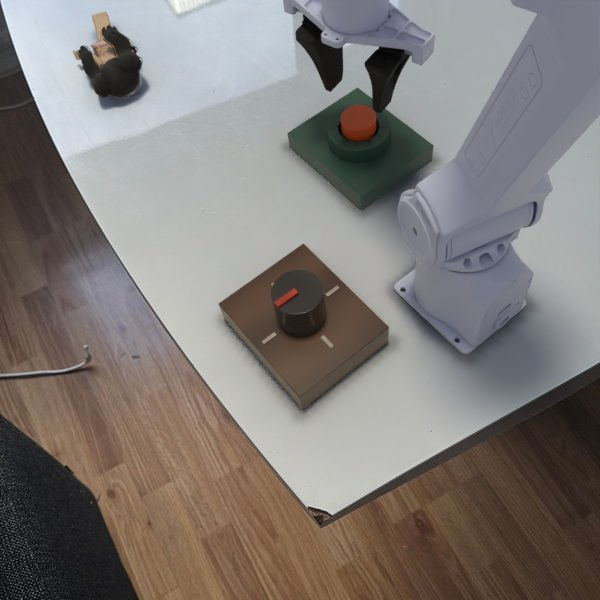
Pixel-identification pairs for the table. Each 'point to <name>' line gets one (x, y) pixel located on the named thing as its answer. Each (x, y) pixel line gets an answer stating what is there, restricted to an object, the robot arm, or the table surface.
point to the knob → (299, 302)
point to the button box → (360, 151)
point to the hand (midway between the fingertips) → (357, 95)
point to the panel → (313, 348)
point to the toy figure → (111, 61)
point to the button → (358, 123)
